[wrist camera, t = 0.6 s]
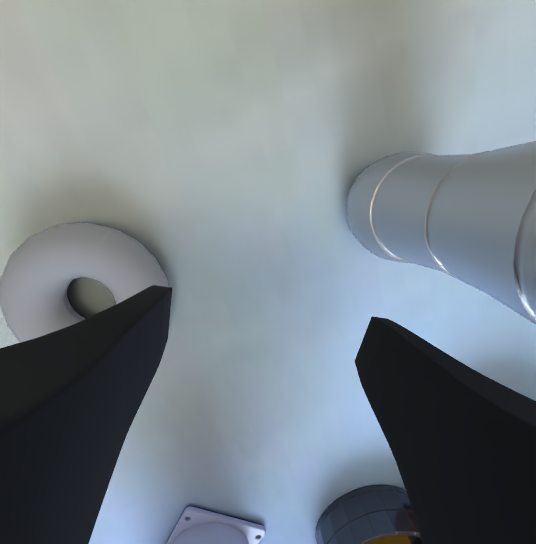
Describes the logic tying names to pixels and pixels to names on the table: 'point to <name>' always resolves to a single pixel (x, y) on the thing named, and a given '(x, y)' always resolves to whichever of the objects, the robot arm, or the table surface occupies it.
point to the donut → (70, 274)
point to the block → (393, 540)
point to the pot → (368, 517)
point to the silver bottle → (455, 217)
